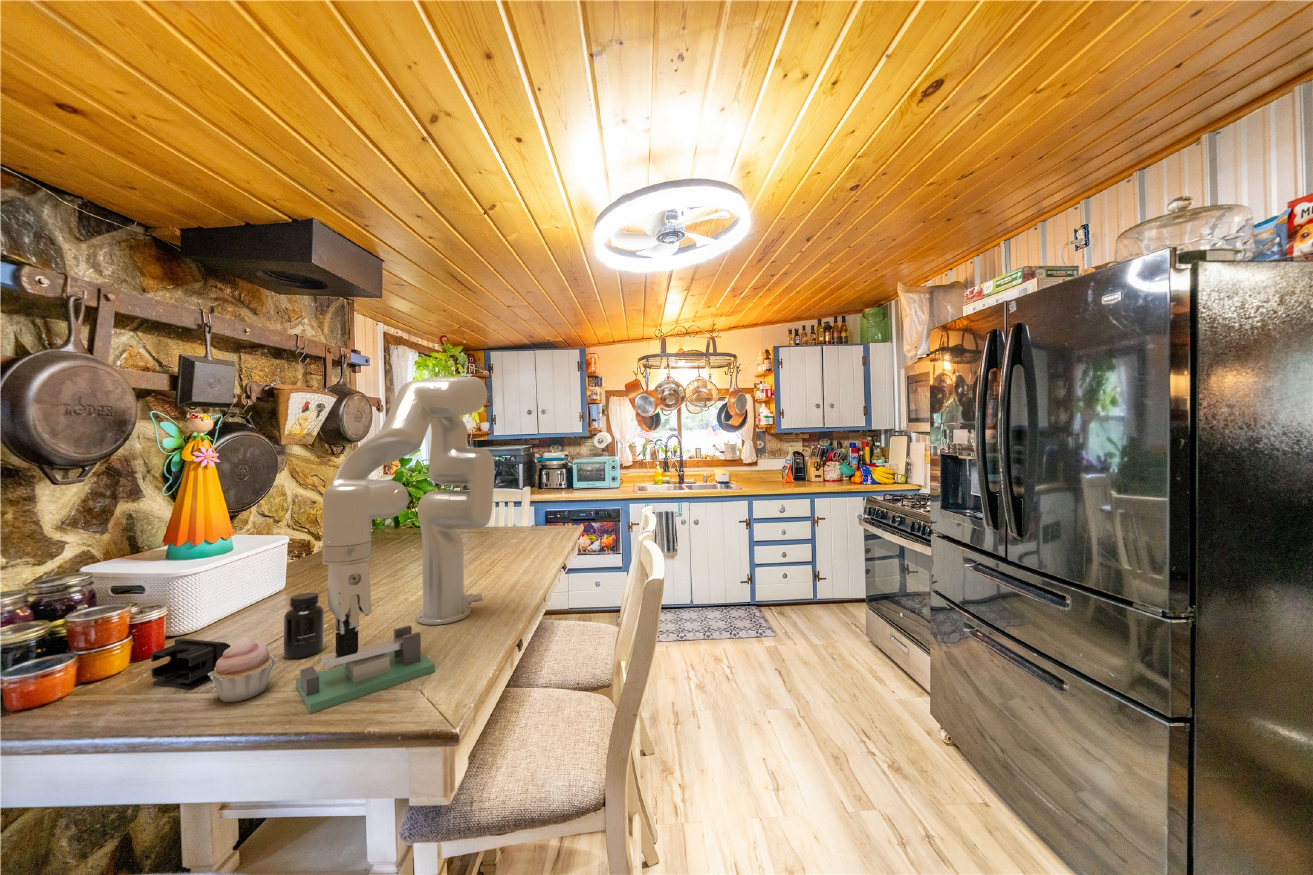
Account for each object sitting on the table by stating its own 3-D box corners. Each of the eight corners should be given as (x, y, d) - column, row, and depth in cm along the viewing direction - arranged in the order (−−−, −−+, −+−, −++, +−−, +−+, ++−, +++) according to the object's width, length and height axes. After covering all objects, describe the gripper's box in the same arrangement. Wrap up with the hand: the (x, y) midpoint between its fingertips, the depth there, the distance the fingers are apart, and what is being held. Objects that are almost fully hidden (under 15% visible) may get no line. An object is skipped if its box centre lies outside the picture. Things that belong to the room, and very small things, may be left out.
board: (412, 652, 104) (412, 619, 104) (434, 671, 96) (434, 635, 95) (296, 686, 90) (295, 648, 90) (310, 713, 81) (310, 671, 81)
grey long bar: (408, 642, 99) (408, 633, 99) (414, 646, 97) (414, 638, 97) (321, 663, 89) (321, 654, 89) (325, 668, 87) (325, 659, 87)
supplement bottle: (303, 661, 100) (302, 602, 100) (275, 658, 101) (274, 599, 101) (331, 647, 107) (331, 591, 106) (305, 644, 108) (304, 589, 108)
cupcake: (259, 676, 94) (258, 623, 94) (287, 687, 90) (287, 632, 90) (196, 700, 85) (196, 642, 85) (225, 713, 81) (224, 652, 81)
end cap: (233, 671, 96) (233, 636, 96) (193, 690, 89) (192, 653, 89) (192, 667, 98) (192, 632, 98) (149, 684, 91) (149, 648, 91)
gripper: (383, 555, 87) (382, 659, 87) (358, 543, 98) (358, 636, 98) (333, 563, 82) (333, 674, 82) (313, 549, 93) (313, 647, 93)
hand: (346, 653), depth 90 cm, fingers closed
